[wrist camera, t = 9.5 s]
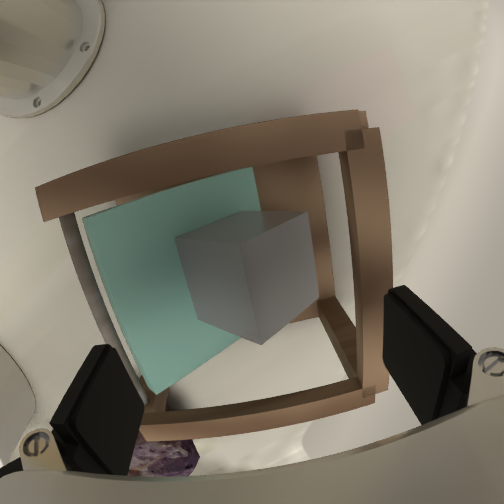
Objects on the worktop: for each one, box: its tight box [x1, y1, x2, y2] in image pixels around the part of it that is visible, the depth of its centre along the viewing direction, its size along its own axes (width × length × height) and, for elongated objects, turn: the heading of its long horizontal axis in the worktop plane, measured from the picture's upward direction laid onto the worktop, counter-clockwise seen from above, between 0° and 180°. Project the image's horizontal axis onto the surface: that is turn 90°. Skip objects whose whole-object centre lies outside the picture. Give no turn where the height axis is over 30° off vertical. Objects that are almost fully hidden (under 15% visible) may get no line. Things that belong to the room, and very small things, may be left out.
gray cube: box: [174, 211, 319, 345], centre depth 17 cm, size 5×5×5 cm
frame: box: [35, 110, 393, 441], centre depth 18 cm, size 14×14×11 cm
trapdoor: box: [82, 167, 261, 395], centre depth 18 cm, size 10×11×1 cm
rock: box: [127, 405, 200, 477], centre depth 24 cm, size 12×9×10 cm
